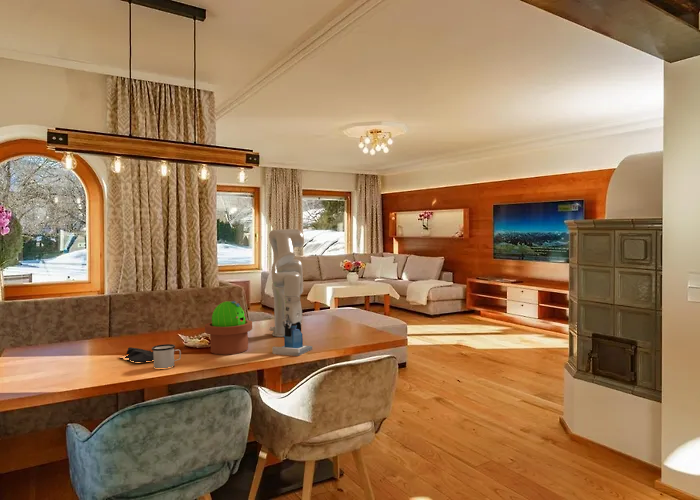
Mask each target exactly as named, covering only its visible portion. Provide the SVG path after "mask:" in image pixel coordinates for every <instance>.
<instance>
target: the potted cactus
mask: <svg viewBox="0 0 700 500" xmlns="http://www.w3.org/2000/svg"><path fill="white" fill-rule="evenodd" d="M246 317H247V316H246V314H245V311H244V309H243V307H242V306H241V304H240V303H237V301H236V300H233V301H230V300H228V301H222V302H221V303H219V304H218V305H217V306H216V307H215V308H214V309H213V312H212V314H211V322H208V323H205V325H204V333H205V334H207V335H209V336H210V353H212V354H214V355H221V354H223V356H224V355H226V356H228V355H236V354H241V353H243V352H247V350H248V349H249V334H248V332H251V331H252V330H253V321H252V320H248V319H246Z"/></svg>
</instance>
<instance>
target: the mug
mask: <svg viewBox="0 0 700 500" xmlns="http://www.w3.org/2000/svg"><path fill="white" fill-rule="evenodd" d="M175 348H176V345H175V344H171V343H167V344H166V343H164V344H159V345H154V346H152V347H151V351H152V352H153V359H154V362H153V368H154V367H155V368H168V367H172V366H174V367H175V362H177V361H180V360H181V355H182V352H181V350H180V349H175ZM177 351H178V352H179V353H178V354H179V358H177V359H175V352H177ZM172 368H173V367H172Z"/></svg>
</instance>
